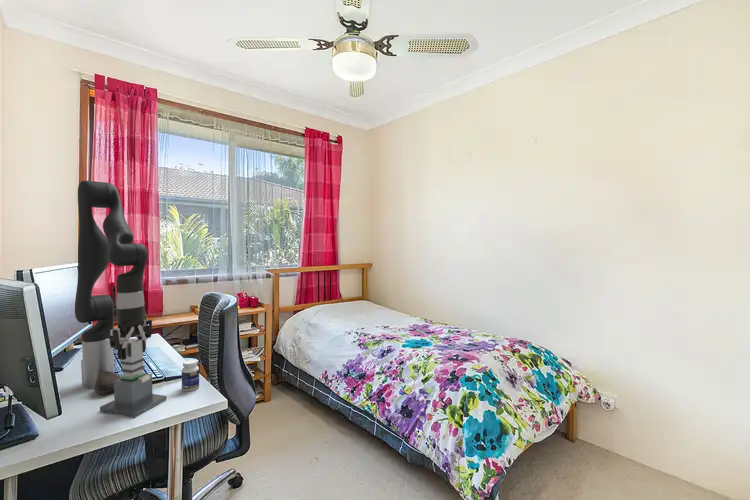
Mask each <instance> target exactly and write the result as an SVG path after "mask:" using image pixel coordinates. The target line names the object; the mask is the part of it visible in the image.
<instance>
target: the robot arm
mask: <svg viewBox="0 0 750 500" xmlns="http://www.w3.org/2000/svg"><path fill="white" fill-rule="evenodd" d="M77 207H78V209H77V210H78V243H77V284H76V294H75V300H74V316H75V319H76V321H77V322H78V323H80V324H87V323H92V322H96V323H95V324H94V325H93V326H91V327H90V328H88V329H86V330H85V331H83V332H82V333H81V349H82V352H81V353H82V359H81V360H80V367H81V368H80V369H81V385H82V386H83V388H85V389H95V384H96V381H97V378H98V377H99V375H100V374H101V373H103V372H105V371H109V372H113V373H115V360H114V349H116V350H117V358H118V359H119V360H120V361H122V360H125V359H126V348H125V346H126V344H127V342H128V341H129V340H130V339H131V338H132V337H134V336H135V337H136V339H139V340H142V349H143V353H145V352H146V349H147V341H148V339H150V338H151V337H152V333H153V332H152V329H153V320H152V319H145V317H146V315H145V314H146V313H145V296H144V287H143V286H144V285H143V283H144V282H143V281H144V280H143V279H144V278H143V277H144V274H145V272H144V271H145V269H146V266H147V262H148V258H149V251H148V248H147V247H146V245H145V244H143V243H133V242H134V234H133V233H132V230H131V229H130V226H129V225H128V223H127V220H126V217H125V213H124V208H123V204H122V201H121V196H120V193H119V191H118V188H117V187H116V186H115V184H113V183H110V182H106V181H94V180H81V181H79V184H78V186H77ZM93 208H99V209H100V208H101V209H109V212H108V214H107V215H106V217H105V218H104V220H103V223H102V229H103V231H102V229H100V227H99V225H98V224H97V222H96V220H95V219H94V215H93ZM110 263H111V264H112V265H113V266H115V267H124V266H125V267H127V266H128V267H129V266H132V268H131V269H130V270H129V271H127V272H126V271H125V272H121V273H120V274H118V275H117V276H116V278H115V279H116V280H115V281H116V299H115V300H116V301H115V302H116V303H115V306H116V320H117V322H118V325H117V327H116V328H114V325H115V324H114V322H115V306H114V300H113V298H112V297H111V295H108V294H100V295H93V289H94V288H95V287H94V286H95V284H96V283H97V281H98V279H99V278H100V277H101V275H102V274H103V273H104V272H105V270H106V269H107V267H108V265H109V264H110Z"/></svg>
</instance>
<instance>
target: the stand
mask: <svg viewBox="0 0 750 500" xmlns="http://www.w3.org/2000/svg"><path fill="white" fill-rule="evenodd" d="M113 393H114V394H113V395H114V396H113V397H114V399H113V400H112V401H109V402H107V403H104V404H103V405H101V406H99V412H100V413H105V414H112V415H117V416H122V417H129V418H137V417H138V416H140V415H142V414H144V413H146V412H147V411H149V410H151V409H153V408H154V407H156V406H158V405H160V404H162V403H164V402H166V401H167V395H163V394H156V393H153V374H151V373H145V375H144V376H142V377H140V378H138V379H137V380H135V381H133V382H130V381H123V379H121V378H119V379H117V380H114V391H113Z"/></svg>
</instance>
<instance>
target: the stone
mask: <svg viewBox="0 0 750 500" xmlns="http://www.w3.org/2000/svg"><path fill="white" fill-rule="evenodd" d="M121 377H122V375H120V374H117V373H115V372H114V373H113V372H109V371H105V372H103V373H101V374H100V375H99V377H98V378H97V381H96V384H95V388H94V391H95V392H96V394H98V395H105V394H108V393H110V392H111V393H112V392H114V380H117V379H119V378H121Z"/></svg>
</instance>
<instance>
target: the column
mask: <svg viewBox="0 0 750 500" xmlns="http://www.w3.org/2000/svg"><path fill="white" fill-rule="evenodd" d="M125 348H126V359H125V360H121V361H120V365H121V366H122V368H121V369H120V372H121V373H122V375H121V379H123V381H130V382H133V381H135V380H137V379H138V378H140V377H142V376H144V375H145V374H146V373H145V372H144V369H145V368H146V367H145V365H144V361H145V358H144V354H143V353H144V352H143V349H142V340H139V339H137V338H130V339H129V341H128V342H127V344H126V346H125Z"/></svg>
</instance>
